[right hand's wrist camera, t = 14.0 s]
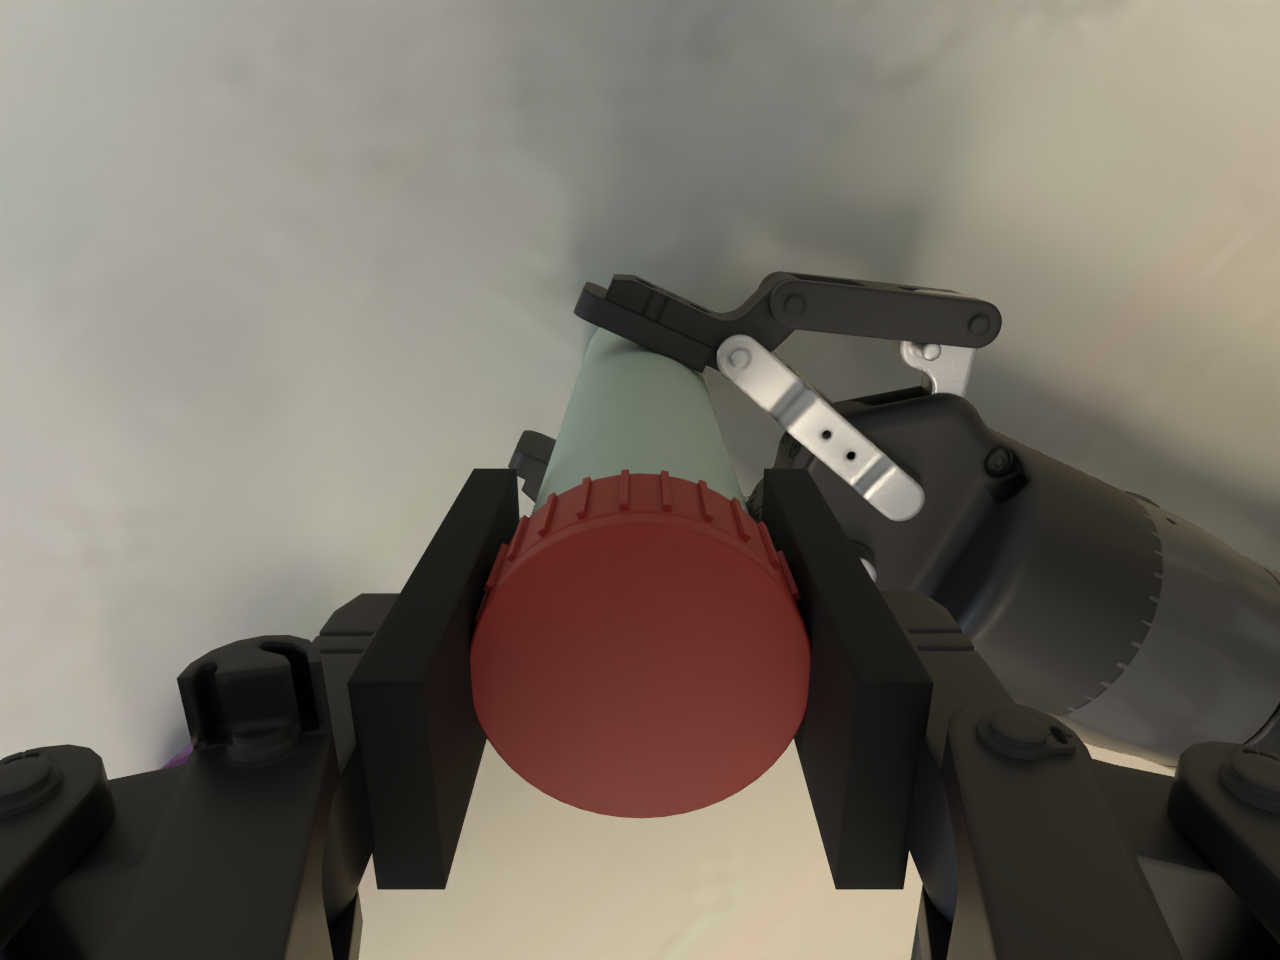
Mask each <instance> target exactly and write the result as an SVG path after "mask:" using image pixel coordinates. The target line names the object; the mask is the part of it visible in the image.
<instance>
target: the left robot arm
mask: <svg viewBox="0 0 1280 960" xmlns="http://www.w3.org/2000/svg"><path fill="white" fill-rule="evenodd" d="M574 313H575V314H576V315H577V316H579V317H580V318H582V319H584V320H586V321H588V322H590V323H592V324H594V325H596V326H599V327H601V328H603V329H605V330H608V331H610V332H612V333H614V334H616V335H619V336H621V337H623V338H625V339H627V340H630V341H632V342H634V343H636V344H638V345H641V346H643V347H645V348H647V349H649V350H652V351H654V352H656V353H658V354H661V355H663V356H665V357H668V358H671V359H673V360H675V361H677V362H679V363H680V364H683V365H685V366H687V367H689V368H691V369H694V370H696V371H698V372H700V373H703V371H704V369H705V366H706V365H707V366H709V367H712V368H714V369H716V370H718V371H720V372H721V373H722V374H723V375H724V376H725V377H727V378H728V379H729V380H730V381H731V382H732V383H734V384H735V385H736V386H737V387H738V388H740V389H741V390H742V391H743V392H744V393H745V394H747V395H748V396H749V397H750V398H751V399H752V400H754V401H755V402H756V403H757V404H758V405H760V406H761V407H762V408H763V409H764V410H765V411H767V412H768V413H769V414H770V415H771V416H772V417H773V418H774V419H775V420H776V421H777V422H778V423H779V424H780V425H781V426H782V427H783V428H784V429H785V430H786V431H785V433H784V435H783V436H782V438H781V440H780V443H779V448H778V452H777V456H776V460H775V464H774V467H773V468H772V469H807V470H808V472H809V473H810V475H811V477H812V478H813V480H814V482H815V483H816V485H817V487H818V489H819V490H820V492H821V494H822V495H823V497H824V499H825V500H826V502H827V504H828V505H829V507H830V509H831V510H832V512H833V514H834V516H835V517H836V519H837V521H838V522H839V524H840V526H841V527H842V529H843V531H844V532H845V534H846V536H847V537H848V539H849V541H850V542H851V544H852V546H853V548H854V549H855V551H856V553H857V554H858V556H859V558H860V559H861V561H862V563H863V564H864V566H865V568H866V569H867V571H868V573H869V575H870V576H871V578H872V580H873V581H874V583H875V585H876V586H877V588H878V590H879V591H920V592H922V593H923V594H925V595H926V596H928V597H929V598H931V599H932V600H934V601H936V602H937V603H939V604H940V605H942V606H943V607H945V608H946V609H947V610H948V611H949V613H950V614H951V615H952V617H953V618H954V620H955V621H956V622H957V624H958V625H959V626H960V628H961V629H962V634H965V635H966V636H967V637H968V639H969V640H970V641H971V643H972V644H973V646H974V650H975V651H978V652H979V654H980V655H981V657H982V658H983V659H984V661H985V662H986V663H987V665H988V666H989V668H990V669H991V670H992V672H993V673H994V674H995V676H996V677H997V679H998V680H999V681H1000V683H1001V684H1002V685H1003V687H1004V688H1005V689H1006V691H1007V692H1008V694H1009V695H1010V696H1011V698H1012V699H1013V700H1014V702H1015V703H1017V704H1021V705H1026V706H1030V707H1032V708H1034V709H1037V710H1039V711H1041V712H1044V713H1046V714H1048V715H1050V716H1053V717H1055V718H1056V719H1058V720H1059V721H1060V722H1062V723H1063V724H1065V725H1066V726H1067V727H1069V728H1070V729H1072V730H1073V731H1074V732H1075V733H1076V734H1077V736H1078V737H1079V738H1080V740H1081V741H1082V742H1084V743H1087V744H1089V745H1092V746H1096V747H1099V748H1103V749H1107V750H1111V751H1115V752H1118V753H1123V754H1127V755H1132V756H1136V757H1139V758H1142V759H1145V760H1148V761H1151V762H1153V763H1156V764H1158V765H1161V766H1163V767H1165V768H1168V769H1170V770H1173V771H1175V772H1176V769H1177V765H1178V761H1179V758H1180V754H1181V753H1183V752H1184V751H1185V750H1186V749H1188V748H1189V747H1190V746H1191V745H1193V744H1199V743H1205V742H1211V741H1218V742H1228V743H1237V744H1245V745H1249V746H1254V747H1257V748H1258V749H1261V748H1262V749H1265V750H1268V751H1271V752H1274V753H1276V754H1278V755H1280V573H1277V572H1275V571H1273V570H1271V569H1269V568H1267V567H1265V566H1262V565H1260V564H1258V563H1256V562H1254V561H1252V560H1250V559H1248V558H1246V557H1244V556H1242V555H1240V554H1239V553H1237V552H1236V551H1234V550H1233V549H1231V548H1230V547H1229V546H1227V545H1226V544H1224V543H1223V542H1221V541H1220V540H1218V539H1217V538H1215V537H1214V536H1212V535H1211V534H1209V533H1207V532H1206V531H1204V530H1203V529H1201V528H1199V527H1197V526H1195V525H1193V524H1192V523H1190V522H1188V521H1186V520H1184V519H1181V518H1179V517H1177V516H1175V515H1173V514H1171V513H1169V512H1167V511H1164V510H1162V509H1160V507H1159V506H1158V505H1156V504H1155V503H1153V502H1152V501H1151V500H1149V499H1147V498H1145V497H1143V496H1140V495H1137V494H1134V493H1131V492H1127V491H1122V490H1120V489H1117V488H1115V487H1113V486H1111V485H1109V484H1107V483H1105V482H1103V481H1100V480H1098V479H1096V478H1094V477H1092V476H1089V475H1087V474H1085V473H1083V472H1081V471H1079V470H1077V469H1074V468H1072V467H1070V466H1068V465H1066V464H1064V463H1062V462H1060V461H1057V460H1055V459H1053V458H1051V457H1049V456H1047V455H1045V454H1042V453H1040V452H1038V451H1036V450H1034V449H1032V448H1030V447H1027V446H1025V445H1023V444H1021V443H1019V442H1017V441H1015V440H1013V439H1010V438H1008V437H1006V436H1004V435H1002V434H1000V433H998V432H995V431H993V430H992V429H990V428H988V426H987V425H986V424H985V423H984V422H983V420H982V419H981V417H980V415H979V413H978V412H977V410H976V409H975V407H974V406H973V405H972V404H971V403H970V402H968V401H967V400H966V399H964V397H965V393H966V389H967V385H968V381H969V377H970V373H971V369H972V365H973V362H974V358H975V354H976V350H977V348H981V347H984V346H986V345H988V344H990V343H991V342H992V341H993V340H994V339H995V338H996V337H997V335H998V334H999V332H1000V329H1001V325H1002V318H1001V314H1000V312H999V310H998V309H997V308H996V307H995V306H994V305H993V304H991V303H989V302H986V301H983V300H980V299H976V298H973V297H970V296H967V295H964V294H961V293H958V292H955V291H951V290H944V289H935V288H926V287H917V286H908V285H899V284H890V283H881V282H872V281H863V280H854V279H845V278H836V277H827V276H818V275H809V274H800V273H791V272H774V273H771V274H770V275H768V276H767V277H765V278H764V279H763V281H762V282H761V284H760V286H759V289H758V290H757V291H756V292H755V293H754V294H753V295H752V296H751V297H750V298H749V299H748V300H747V301H746V302H745V303H744V304H743V305H742V306H740V307H739V308H738V309H736V310H734V311H732V312H728V313H716V312H713V311H710V310H708V309H706V308H703V307H701V306H699V305H697V304H695V303H693V302H691V301H688V300H686V299H684V298H682V297H680V296H678V295H676V294H673V293H671V292H669V291H667V290H665V289H663V288H661V287H658V286H656V285H654V284H652V283H650V282H648V281H645V280H643V279H641V278H639V277H637V276H635V275H621V274H614V276H613V278H612V280H611V283H610V285H609V287H608V289H605V288H603V287H601V286H599V285H596V284H593V283H590V282H587V283H586V284H585V286H584V288H583V290H582V293H581V295H580V297H579V300H578V302H577V305H576V307H575V309H574ZM795 329H798V330H808V331H817V332H826V333H835V334H844V335H854V336H863V337H872V338H881V339H891V340H890V346H891V350H892V352H893V354H894V355H895V356H896V357H897V358H898V359H900V360H901V361H903V362H904V363H906V364H907V365H909V366H911V367H913V368H917V369H918V370H919V371H920V373H921V377H922V385H921V386H916V387H911V388H906V389H901V390H896V391H891V392H886V393H881V394H876V395H871V396H865V397H860V398H855V399H850V400H845V401H840V402H835V403H833V402H832V401H831V400H830V399H829V398H828V397H826V396H825V395H824V394H823V393H822V392H821V391H820V390H818V389H817V388H816V387H815V386H814V385H813V384H812V383H810V382H809V381H808V380H807V379H806V378H805V377H804V376H802V375H801V374H800V373H799V372H798V371H797V370H796V369H794V368H793V367H792V366H791V365H789V364H788V363H787V362H785V361H784V360H783V359H782V358H781V357H780V356H778V355H777V354H776V353H775V352H774V351H773V350H774V349H776V348H777V347H778V346H779V345H780V344H781V343H782V342H783V341H784V340H785V339H786V338H787V337H788V336H789V335H790V334H791V333H792V332H793V331H794V330H795ZM555 443H556V440H555V439H552V438H550V437H548V436H545V435H543V434H541V433H538V432H535V431H530V430H526V431H524V432H523V433H522V436H521V438H520V440H519V442H518V444H517V446H516V449H515V451H514V453H513V456H512V458H511V461H510V463H509V465H508V468H509V469H517V476H519V477H521V478H523V479H525V482H524V485H523V488H522V491H523V492H524V493H525V494H526V495H527V496H528V497H529V498H531V499H532V500H533V501H534V502H535V503H536V500H537V497H538V494H539V491H540V488H541V485H542V482H543V479H544V476H545V473H546V470H547V467H548V464H549V461H550V458H551V455H552V452H553V449H554V446H555ZM763 481H764V478H763V479H762V480H761V481H760V482H759V483H758V484H757V485H756V487H755V489H754V490H753V492H752V494H751V496H750V497H746V496H743V498H744V501H745V504H746V507H747V510H748V513H749V515H750V516H751V517H752V519H753V520H754V521H755V522H756V523H757V524H758V523H760V522H761V516H762V499H763Z"/></svg>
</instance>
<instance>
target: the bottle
mask: <svg viewBox="0 0 1280 960" xmlns="http://www.w3.org/2000/svg"><path fill="white" fill-rule="evenodd" d="M626 469H629V474H637V473H641V474H661V470H664V471H669V476H671V477H677V478H681V479H685V480H688V481H691V482H694V483H697V484H698V482H699V480H703V481H705V482H706V483H707V487H708V488H709V489H711V490H713V491H716V492H718V493H719V494H721V495H723V496H724V497H726V498H727V499H729V500H732V499H733V497H735V498H737V499H738V500H739V501H740V504H741V507H742V510H744V511H745V512H746V513H747V514H749V513H748V510H747V507H746V504H745V501H744V498H743V495H742V492H741V489H740V486H739V483H738V480H737V477H736V474H735V471H734V468H733V465H732V462H731V459H730V456H729V453H728V450H727V447H726V444H725V441H724V438H723V435H722V432H721V429H720V426H719V423H718V420H717V417H716V414H715V411H714V408H713V405H712V402H711V399H710V396H709V393H708V390H707V387H706V384H705V382H704V379H703V376H702V373H700V372H698V371H696V370H694V369H691V368H689V367H687V366H685V365H683V364H680V363H679V362H677V361H675V360H673V359H671V358H668V357H665V356H663V355H661V354H658V353H656V352H654V351H652V350H649V349H647V348H645V347H643V346H641V345H638V344H636V343H634V342H632V341H630V340H627V339H625V338H623V337H621V336H619V335H616V334H614V333H612V332H610V331H608V330H605V329H603V328H601V327H600V328H599V329H598V330H597V331H596V332H595V334H594V335H593V337H592V338H591V340H590V342H589V344H588V347H587V350H586V353H585V356H584V359H583V362H582V365H581V368H580V371H579V374H578V377H577V380H576V383H575V386H574V389H573V392H572V395H571V398H570V401H569V404H568V407H567V410H566V413H565V416H564V419H563V422H562V425H561V428H560V431H559V434H558V437H557V440H556V443H555V446H554V449H553V452H552V455H551V458H550V461H549V464H548V467H547V470H546V473H545V476H544V479H543V482H542V485H541V488H540V491H539V494H538V497H537V500H536V503H535V506H534V509H533V512H532V514H534V513H535V512H536V511H537V510H538V509H539V508H541V507H542V506H543V505H544V504H546V502H547V499H548V496H549V495H550V494H552V493H553V492H555V494H556V495H557V496H558V495H559V494H561V493H563V492H565V491H567V490H570V489H572V488H574V487H576V486H578V485H581V484H582V481H583V478H586V477H590V478H591V481H593V480H596V479H600V478H605V477H610V476H615V475H621V470H626Z"/></svg>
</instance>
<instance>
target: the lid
mask: <svg viewBox="0 0 1280 960" xmlns="http://www.w3.org/2000/svg"><path fill="white" fill-rule="evenodd" d="M484 591H486V592H485V595H484V597H483V600H482V602H481V605H480V608H479V610H478V613H477V616H476V618H475V624H476V626H475V629H474V633H473V636H472V639H471V643H470V667H471V679H472V691H473V702H474V709H475V712H476V715H477V718H478V721H479V723H480V725H481V727H482V729H483V731H484V733H485V735H486V737H487V739H488V740H489V741H490V743H491V744H492V746H493V747H494V749H495V750H496V752H497V753H498V754H499V755H500V756H501V758H502V759H503V760H504V761H505V762H506V763H507V764H508V765H509V766H510V767H511V768H512V769H513V770H514V771H515V772H516V773H517V774H519V775H520V776H521V777H522V778H523V779H524V780H526V781H527V782H528V783H530V784H531V785H533V786H534V787H536V788H537V789H539V790H540V791H542V792H543V793H545V794H547V795H549V796H551V797H553V798H555V799H557V800H559V801H561V802H563V803H566V804H569V805H571V806H574V807H577V808H579V809H583V810H587V811H590V812H594V813H598V814H603V815H610V816H617V817H628V818H652V817H665V816H671V815H677V814H683V813H687V812H690V811H694V810H698V809H701V808H704V807H707V806H709V805H712V804H714V803H717V802H719V801H722V800H724V799H726V798H728V797H730V796H731V795H733V794H735V793H737V792H739V791H741V790H742V789H744V788H745V787H747V786H748V785H749V784H751V783H752V782H754V781H755V780H757V779H758V778H759V777H760V776H761V775H762V774H763V773H765V772H766V771H767V770H768V769H769V768H770V767H771V766H772V765H773V764H774V763H775V762H776V761H777V759H778V758H779V757H780V756H781V755H782V754H783V753H784V751H785V750H786V749H787V747H788V745H789V744H790V742H791V741H792V739H793V738H794V736H795V735H796V733H797V731H798V729H799V726H800V724H801V722H802V720H803V718H804V715H805V712H806V709H807V700H808V689H809V677H810V665H811V645H810V639H809V636H808V633H807V630H806V627H805V624H804V621H803V618H802V615H801V613H800V610H799V608H798V605H797V602H796V600H798V599H800V598H801V596H800V593H799V591H798V588H797V586H796V583H795V581H794V578H793V576H792V573H791V571H790V568H789V565H788V563H787V560H786V558H785V555H784V553H783V551H782V550H781V551H779V552H776V550H775V548H774V546H773V543H772V540H771V538H770V535H769V532H768V530H767V527H766V525H765V524H764V523H763V522H762V521H761V522H760V523H758V524H757V523H756V522H755V521H754V520H753V519H752V517H751V516H750V515H749V514H747V513H746V512H745V511H744V510H742V507H741V504H740V501H739V500H738V499H737V498H735V497H733V499H732V500H729V499H727V498H726V497H724V496H723V495H721V494H719V493H718V492H716V491H713V490H711V489H709V488H708V487H707V483H706V482H705V481H703V480H699V482H698V484H697V483H694V482H691V481H688V480H685V479H681V478H677V477H671V476H669V471H664V470H661V474H641V473H637V474H629V469H626V470H621V475H615V476H610V477H605V478H600V479H596V480H593V481H591V478H590V477H586V478H583V481H582V484H581V485H578V486H576V487H574V488H572V489H570V490H567V491H565V492H563V493H561V494H559V495H558V496H557V495H556V494H555V492H553V493H552V494H550V495H549V496H548V499H547V502H546V504H544V505H543V506H542V507H541V508H539V509H538V510H537V511H536V512H535V513H534V514H532V515H531V516H530V517H529V518H528V517H527V516H526V515H524V516H523V517H522V518H521V519H520V521H519V524H518V527H517V530H516V532H515V535H514V536H513V538H512V539H511V541H510V542H509V544H508V545H506V544H504V543H502V545H501V547H500V549H499V551H498V554H497V556H496V559H495V562H494V564H493V567H492V569H491V572H490V574H489V577H488V579H487V582H486V585H485V587H484Z"/></svg>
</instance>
